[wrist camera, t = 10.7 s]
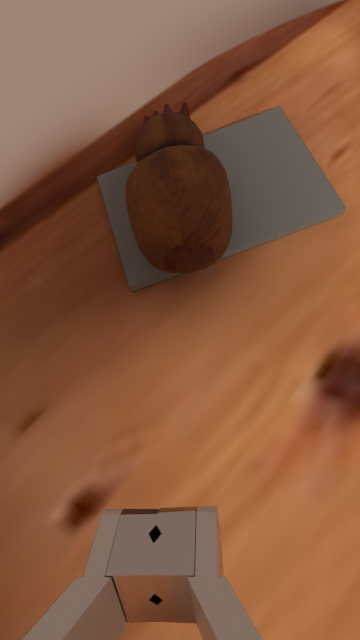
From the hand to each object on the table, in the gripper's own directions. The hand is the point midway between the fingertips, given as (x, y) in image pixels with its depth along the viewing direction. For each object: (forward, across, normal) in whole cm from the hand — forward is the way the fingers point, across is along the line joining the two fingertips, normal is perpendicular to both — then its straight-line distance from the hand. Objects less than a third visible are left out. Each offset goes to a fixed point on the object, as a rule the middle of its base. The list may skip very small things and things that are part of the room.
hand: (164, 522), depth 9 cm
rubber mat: (+22, -2, -6) cm, 23 cm away
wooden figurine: (+14, 0, -3) cm, 14 cm away
